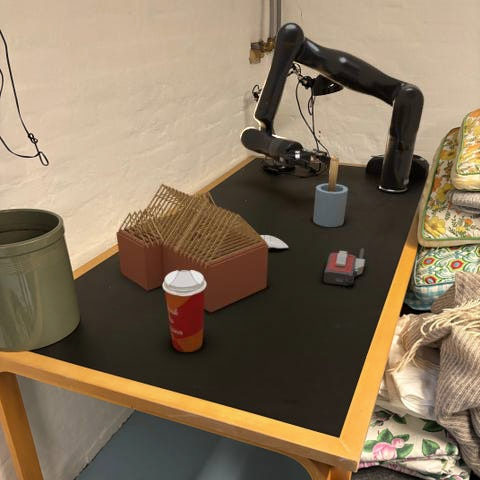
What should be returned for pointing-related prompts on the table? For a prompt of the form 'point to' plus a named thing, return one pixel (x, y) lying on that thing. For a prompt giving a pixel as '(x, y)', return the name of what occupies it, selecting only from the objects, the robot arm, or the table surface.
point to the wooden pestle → (333, 174)
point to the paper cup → (185, 308)
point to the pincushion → (273, 241)
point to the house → (194, 248)
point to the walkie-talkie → (343, 268)
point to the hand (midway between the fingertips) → (319, 163)
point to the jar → (330, 205)
